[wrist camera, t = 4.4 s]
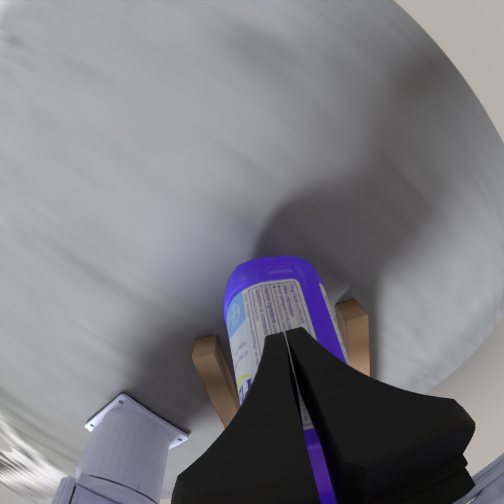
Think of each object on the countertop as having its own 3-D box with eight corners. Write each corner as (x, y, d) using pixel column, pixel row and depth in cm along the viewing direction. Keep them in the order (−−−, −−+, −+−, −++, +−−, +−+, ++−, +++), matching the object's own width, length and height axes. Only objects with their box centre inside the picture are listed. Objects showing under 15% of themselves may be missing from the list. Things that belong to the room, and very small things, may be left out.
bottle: (218, 248, 14) (281, 609, 3) (324, 239, 15) (420, 559, 4) (223, 318, 20) (264, 560, 8) (301, 309, 21) (357, 536, 9)
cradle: (195, 338, 20) (191, 358, 18) (354, 298, 20) (367, 313, 18) (254, 465, 26) (256, 482, 23) (358, 439, 26) (365, 455, 23)
